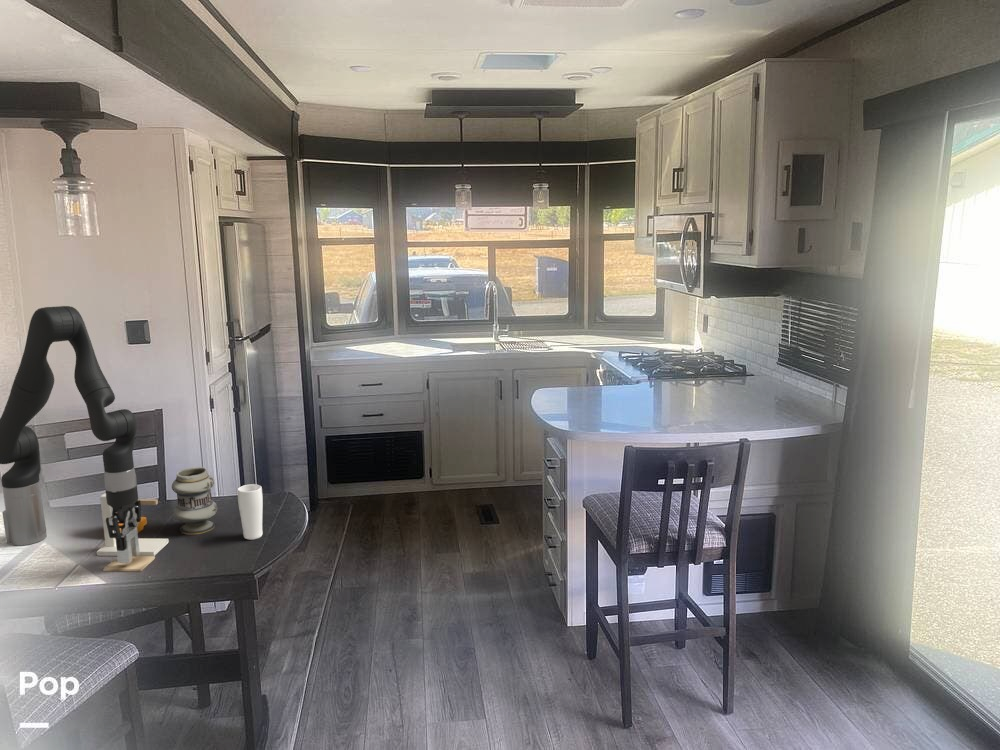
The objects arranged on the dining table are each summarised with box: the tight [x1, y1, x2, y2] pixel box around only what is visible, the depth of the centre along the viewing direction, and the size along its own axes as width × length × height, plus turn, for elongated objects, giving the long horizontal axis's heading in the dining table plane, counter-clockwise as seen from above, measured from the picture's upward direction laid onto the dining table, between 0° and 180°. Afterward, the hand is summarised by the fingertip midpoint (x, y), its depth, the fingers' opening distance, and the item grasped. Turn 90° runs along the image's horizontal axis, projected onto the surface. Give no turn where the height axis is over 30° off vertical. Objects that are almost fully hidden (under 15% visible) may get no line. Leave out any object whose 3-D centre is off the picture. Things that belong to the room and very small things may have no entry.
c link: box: [117, 527, 140, 563], centre depth 207 cm, size 3×6×8 cm, turn 178°
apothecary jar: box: [171, 466, 218, 536], centre depth 230 cm, size 12×12×18 cm
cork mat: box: [103, 555, 156, 572], centre depth 208 cm, size 10×8×1 cm
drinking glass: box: [237, 483, 264, 541], centre depth 224 cm, size 7×7×15 cm
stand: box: [96, 492, 170, 557], centre depth 216 cm, size 16×9×16 cm, turn 88°
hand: (127, 544), depth 207 cm, fingers closed on c link, 5 cm apart
